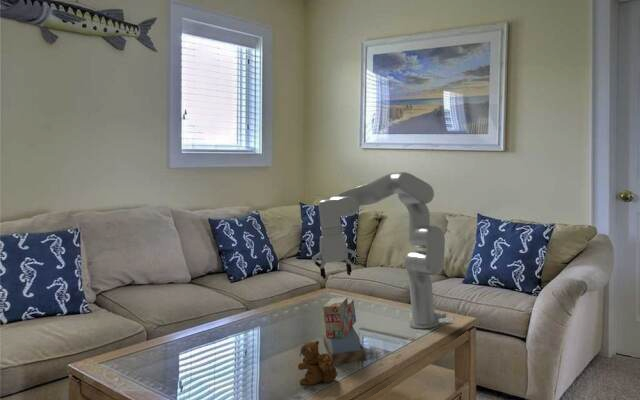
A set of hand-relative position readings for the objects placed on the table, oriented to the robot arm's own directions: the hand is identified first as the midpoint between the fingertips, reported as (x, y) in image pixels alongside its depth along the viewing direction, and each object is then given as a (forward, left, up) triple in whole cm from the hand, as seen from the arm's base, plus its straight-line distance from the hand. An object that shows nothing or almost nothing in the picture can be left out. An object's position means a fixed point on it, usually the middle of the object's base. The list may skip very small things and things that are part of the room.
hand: (336, 276), depth 217 cm
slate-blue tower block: (+1, 0, -26) cm, 26 cm away
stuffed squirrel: (+14, +25, -30) cm, 41 cm away
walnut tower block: (0, 0, -30) cm, 30 cm away
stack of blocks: (0, -1, -21) cm, 21 cm away
